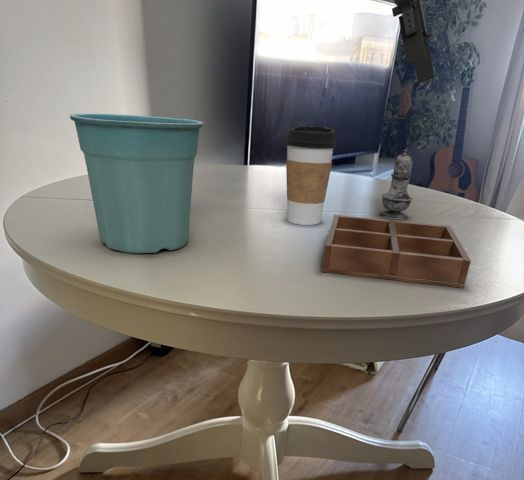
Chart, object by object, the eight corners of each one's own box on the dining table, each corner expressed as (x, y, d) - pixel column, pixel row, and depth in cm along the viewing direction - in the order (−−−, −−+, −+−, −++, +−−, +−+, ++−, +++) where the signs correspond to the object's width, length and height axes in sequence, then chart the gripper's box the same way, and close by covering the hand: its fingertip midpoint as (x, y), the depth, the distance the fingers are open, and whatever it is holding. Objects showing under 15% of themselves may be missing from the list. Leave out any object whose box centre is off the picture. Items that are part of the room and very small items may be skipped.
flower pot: (155, 222, 79) (149, 113, 71) (227, 244, 70) (229, 122, 62) (62, 239, 67) (43, 112, 60) (133, 268, 58) (121, 123, 51)
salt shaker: (380, 211, 95) (391, 145, 89) (410, 215, 93) (424, 148, 87) (375, 217, 90) (386, 148, 84) (407, 221, 88) (421, 151, 83)
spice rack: (445, 248, 73) (450, 225, 72) (463, 288, 58) (471, 260, 57) (331, 236, 76) (334, 214, 74) (321, 271, 61) (324, 245, 59)
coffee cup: (333, 219, 86) (344, 128, 79) (318, 229, 80) (329, 131, 72) (290, 213, 89) (297, 124, 82) (272, 222, 83) (278, 126, 75)
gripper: (387, -31, 86) (408, 94, 90) (353, -108, 64) (384, 61, 68) (430, -52, 82) (451, 78, 86) (410, -141, 61) (439, 39, 65)
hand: (421, 71), depth 77 cm, fingers open, 13 cm apart
